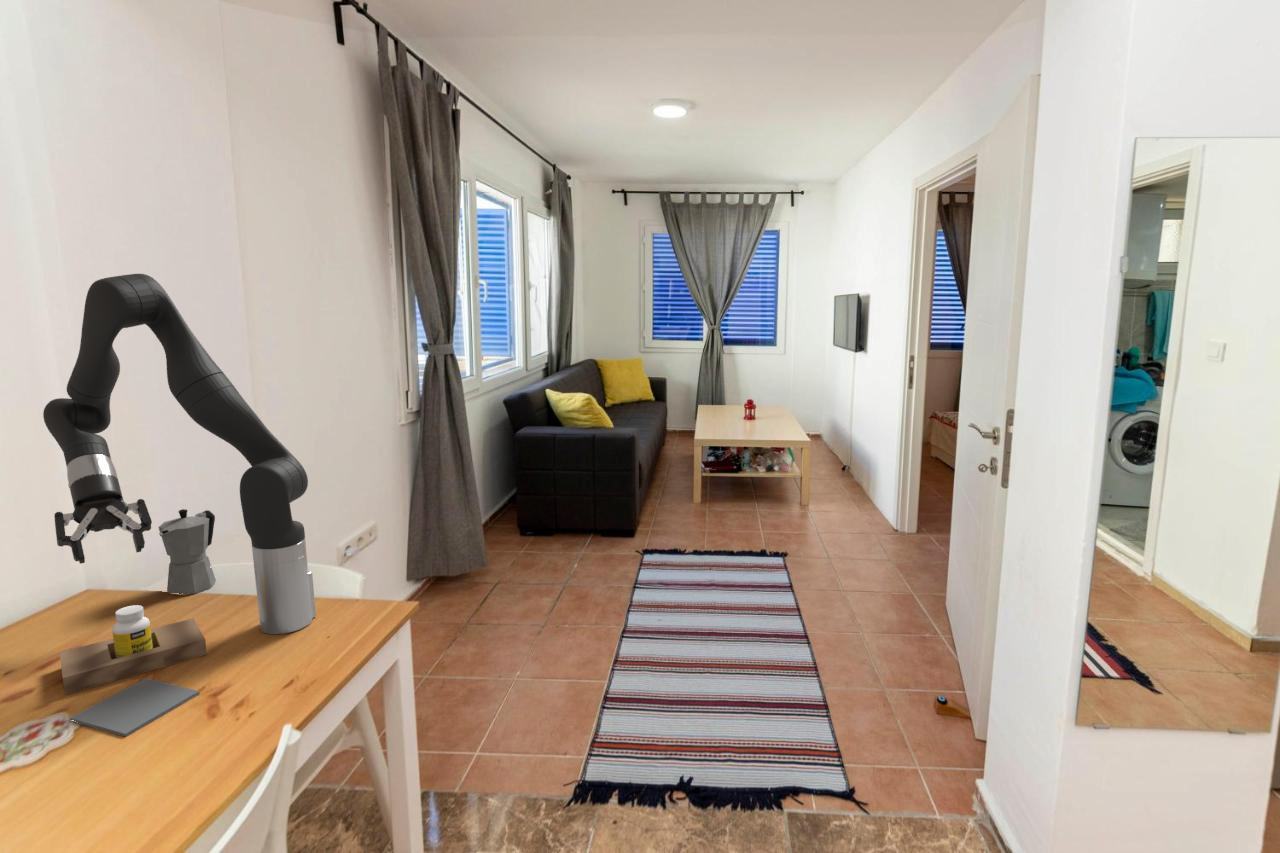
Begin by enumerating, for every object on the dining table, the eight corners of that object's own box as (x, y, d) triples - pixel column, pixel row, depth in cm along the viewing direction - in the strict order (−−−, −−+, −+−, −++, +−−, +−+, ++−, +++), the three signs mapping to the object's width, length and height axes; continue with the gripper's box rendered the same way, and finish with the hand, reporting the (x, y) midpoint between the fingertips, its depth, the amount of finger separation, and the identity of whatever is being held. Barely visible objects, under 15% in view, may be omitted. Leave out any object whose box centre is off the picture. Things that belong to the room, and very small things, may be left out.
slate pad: (146, 680, 118) (146, 677, 118) (199, 693, 115) (199, 691, 115) (69, 720, 107) (69, 717, 107) (125, 736, 104) (125, 733, 103)
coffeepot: (189, 601, 149) (180, 520, 146) (149, 598, 150) (138, 518, 147) (238, 572, 164) (230, 498, 161) (200, 570, 165) (192, 497, 162)
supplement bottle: (135, 670, 122) (127, 618, 120) (109, 667, 123) (101, 615, 121) (161, 655, 127) (155, 604, 125) (136, 652, 128) (129, 601, 126)
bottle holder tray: (65, 694, 114) (62, 678, 114) (62, 668, 122) (59, 652, 122) (206, 654, 127) (205, 639, 127) (195, 632, 135) (193, 618, 135)
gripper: (45, 479, 129) (62, 555, 123) (139, 466, 138) (158, 537, 132) (47, 500, 133) (62, 575, 127) (137, 487, 143) (155, 555, 137)
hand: (111, 555), depth 130 cm, fingers open, 8 cm apart
